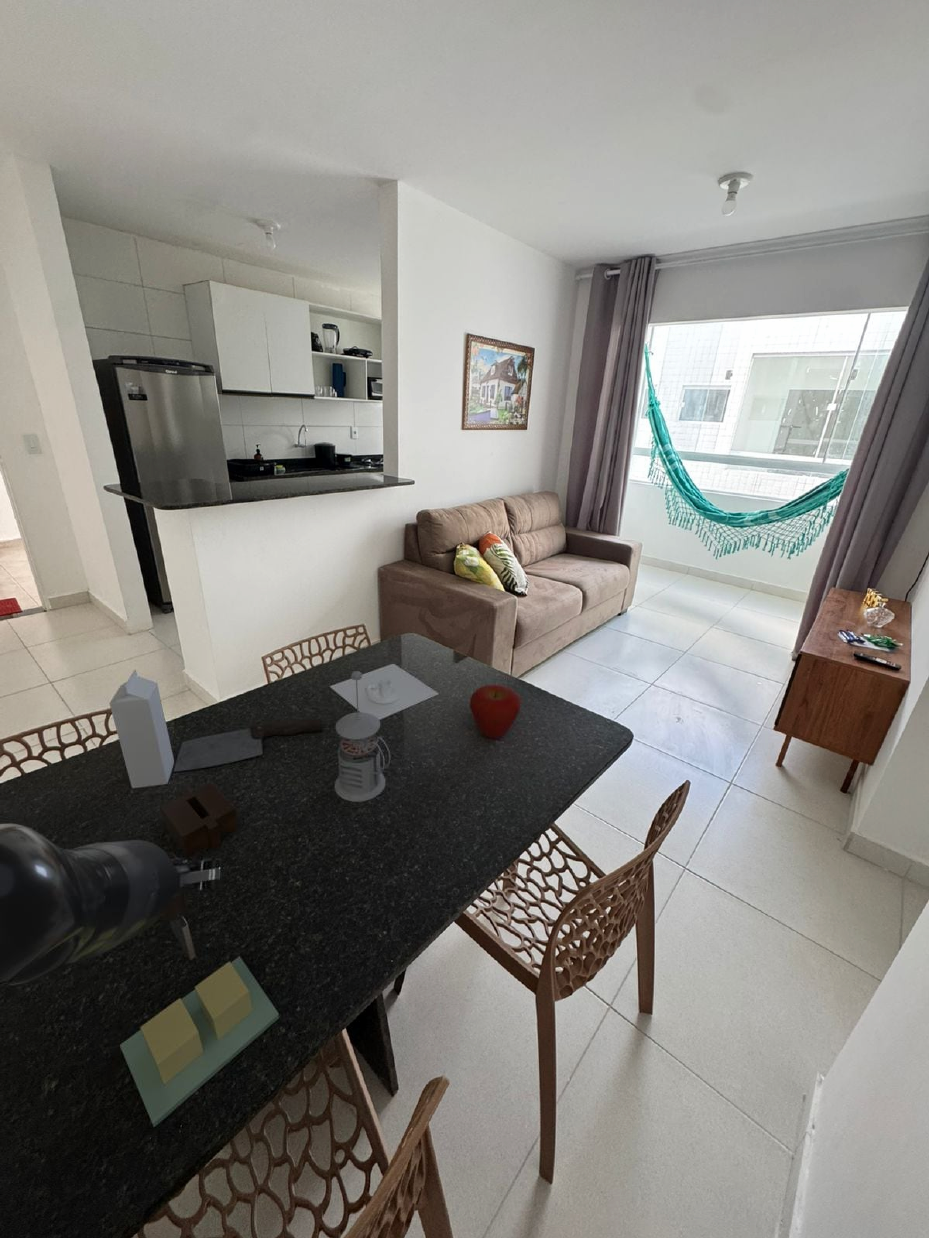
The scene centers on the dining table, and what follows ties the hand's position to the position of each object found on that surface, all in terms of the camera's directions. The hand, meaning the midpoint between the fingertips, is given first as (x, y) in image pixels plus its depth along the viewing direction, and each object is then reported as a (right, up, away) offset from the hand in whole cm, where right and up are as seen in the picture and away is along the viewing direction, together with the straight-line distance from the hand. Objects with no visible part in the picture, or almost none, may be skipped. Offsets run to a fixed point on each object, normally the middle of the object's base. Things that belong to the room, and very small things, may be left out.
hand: (175, 874), depth 54 cm
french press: (+11, -5, +45) cm, 47 cm away
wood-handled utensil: (0, -8, +1) cm, 8 cm away
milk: (-29, -3, +44) cm, 53 cm away
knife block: (-14, -9, +34) cm, 38 cm away
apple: (+37, +1, +62) cm, 73 cm away
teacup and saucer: (+10, +9, +77) cm, 78 cm away
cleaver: (-14, 0, +54) cm, 56 cm away
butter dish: (0, -22, +6) cm, 23 cm away
